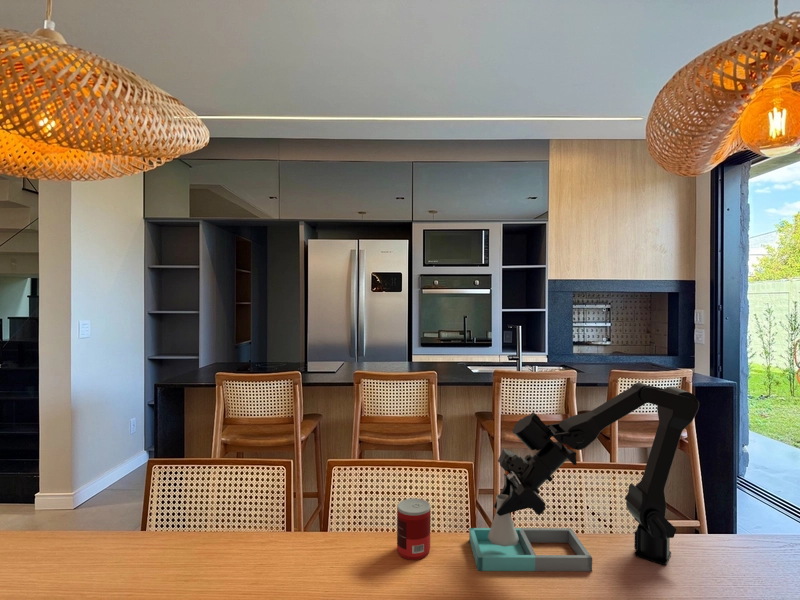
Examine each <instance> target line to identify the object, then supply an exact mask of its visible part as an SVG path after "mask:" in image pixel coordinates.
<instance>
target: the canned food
mask: <svg viewBox="0 0 800 600" xmlns="http://www.w3.org/2000/svg"><path fill="white" fill-rule="evenodd" d="M431 521H432V520H431V504H430V502H429V501H427V500H425V499H421V498H406V499H403V500H401V501H399V502H398V503H397V508H396V550H397V553H398V555H399V556H400V558H401V557H402V558H403V559H406V560H410V561H413V560H414V561H418V560H422V559H424V558H426V557H427V556H428V555H429V554H430V550H431V523H432V522H431Z"/></svg>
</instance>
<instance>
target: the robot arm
mask: <svg viewBox="0 0 800 600" xmlns="http://www.w3.org/2000/svg"><path fill="white" fill-rule="evenodd" d="M646 404H651V405H654V406H656V407H657V408H656V412H657V417H658V426H657V428H656V432H655V435H654V439H653V442H652V445H651V449H650V452H649V455H648V459H647V462H646V465H645V468H644V471H643V475H642V477H641V480H640V481H639V482H638V483H637V484H636V485H635V484H632V483H630V484H629V485H628V491H627V495H626V496H625V497H624V500H625V501H626V508H627V510H628V512H629V513H630V515H632V516H633V519H634V521H635V522H637V523H638V525H637V527H636V530H635V531H634V544H633V545H634V547H633V548H634V550H635V552H634V556H635V557H638V558H641V559H643V560H647V561H651V562H654V563H657V564H659V565H663V566H667V565H668V562H669V560H670V557H671V555H672V551H671V549H670V547H671V546H670V544H671V543H670V542H671V541H670V540H671V539H673V538H674V537H675V535H676V532H677V528H676V527H675V526H674V525H673V524H672V523H671V522H670V521H669V520H668V519H667V518H666V512H667V500H666V495H665V489H666V485H667V482H668V478H669V475H670V472H671V469H672V466H673V463H674V459H675V457H676V456H675V455H676V452H677V449H678V446H679V443H680V440H681V439H680V438H681V436H682V433H683V431H684V430H685V429H686V428H687V427H689V425H691V424H692V422H693V421H694V419H695V417H696V415H697V413H698V411H699V407H700V402H699V400H698V398H697V396H696V395H694V393H692V392H690V391H687V390H684V389H683V388H681V389H680V388H679V387H677V386H666V387H664V388H661V387H658V386H654V385H649V384H648V385H647V384H645V383H643V382H636V383H633V384H632V385H631V386H630V387H629V388H627V389H626V390H624V391H622V392H621V393H619V394H617V395H616V396H614V397H612V398H611V399H609V400H607V401H605V402H604V403H602V404H600V405H598V406H597V407H595V408H593V409H592V410H590V411H587V412H584V413H579V414H575V415H572V416H570V417H566V418H564V419H563V420H561V421H560V422H558V423H551V424H546V423H545V422H543V421H542V419H541V418H540V417H539V415H537V413H535V412H534V411H532V412H531V413H530V414H529V415H526V416H524V417H523V418H520V419H519V420H518V421H517V422H516V423H515V425H514V426H513V427H512V433H513V434H514V435H515V436H516V437H517V438H518V439H519V441H521V442H522V443H523V444H524V445H525V446H526V447H527V448H528V450H530V451H536V452H535V453H534V454H533V455H531V454H530V453H529V454H527V455H525V457H523V456H521V455H518V454H517V453H514V452H512V451H510V450H508V449H506V448H503V449H502V451H501V453H500V455H499V456H498V457H499V458H498V459H497V462H498V463H499V466H500V467H501V468H502V469H503V470H504V471H505V472H507V473H508V474H506V473H503V476H504V485H503V488H502V490H501V491H500V493H499V494H505V495H508V497H507V499H506V500H505V501H504V502H503V504H502V505H501V506H500V508H499V509H498V511H497V514H498V515H499V516H502V515H505V514H508V513H510V514H511V513H514V512H518V511H522V510H526V509H529V510H531V509H532V510H533V511H534V513H535V514H537V515H538V516H541V514H543V512H544V511H546V502H545V501H544V500H543V498H542V497H541V495H540V493H541V491H540V488H541V487H542V485H543V484H544V483H546V481H548V482H549V483H551V482H552V481H553V479H554V478H553V475H554V473H555V472H557V470H558V469H559V468H561V467H562V465H563V464H564V463H565V462H567V461H568V460H569V462H570V463H571V464H572V465H573V466H577V463H578V462H577V452H576V451H575V450H577V451H581V450H584V449H586V448H588V446H590V445H591V444H592V443H594V441H596V440H597V439H598V437H599V435H600V434H601V432H602V431H603V430H604V429H606V428H607V427H609V426H611V425H613V424H615V422H617V421H620V420H621V419H622V418H624V417H626V416H627V415H629V414H631V413H632V412H634V411H635V410H637V409H640V408H641V407H643V406H644V405H646ZM551 438H554V439H555V440H556V441H557V442H554V441H553V440H552V439H551ZM566 445H567V446H568V447H569V448H571V449H568V447H566ZM493 508H495V509H497V500H495V503H494V505H493Z"/></svg>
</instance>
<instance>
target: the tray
mask: <svg viewBox="0 0 800 600" xmlns="http://www.w3.org/2000/svg"><path fill="white" fill-rule="evenodd" d="M490 529H491V527H469V532H468V533H469V536H468V537H469V543H470V548H471V551H472V556H473V558H474V562H475V565H476V570H477V572H593V557H592V555H591V554H590V553H589V551H588V550H587V549H586V547H585V546H584V544H583V543H582V541H581V540H580V539H579V537H578V536H577V535H576V533H575V531H574V530H573V529H572V528H571V527H570V528H569V527H568V528H567V527H564V528H563V527H561V528H560V527H559V528H558V527H556V528H553V527H552V528H551V527H544V528H542V527H541V528H538V527H534V528H533V527H524V528H523V527H515V529H516V532H517V535H518V537H519V540H518V543H517V545H513V546H500V545H495V544H492V543H491V542H490V540H489V539H488V538H487V537H488V534H489V531H490ZM531 543H563V544H564V543H565V544H566V543H568V544H569V546H570V547H571V549H572V550H573V551H574V554H536V552H535V550H534V548H533V545H532V544H531Z"/></svg>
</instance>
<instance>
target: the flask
mask: <svg viewBox="0 0 800 600" xmlns="http://www.w3.org/2000/svg"><path fill="white" fill-rule="evenodd" d="M507 497H508V495H505V494H500V493H498V494H496V496H495V499H496V501H497V509H496V508H495V509H496V510H495V514H494V518H493V520H492V524H491V527H490V528H491V529H490V531H489V534H488V537H487V538H488V539H489V540H490V542H491V543H492V544H495V545H500V546H513V545H517V543H518V540H519V537H518V535H517V532H516V529H515V528H516V527H515V525H514V521H513V518H512V515H511V513H508V514H505V515H502V516H499V515H498V514H497V511H498V509H499V508H500V506H501V505H502V504H503V502H504V501H505V500H506V499H507Z"/></svg>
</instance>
